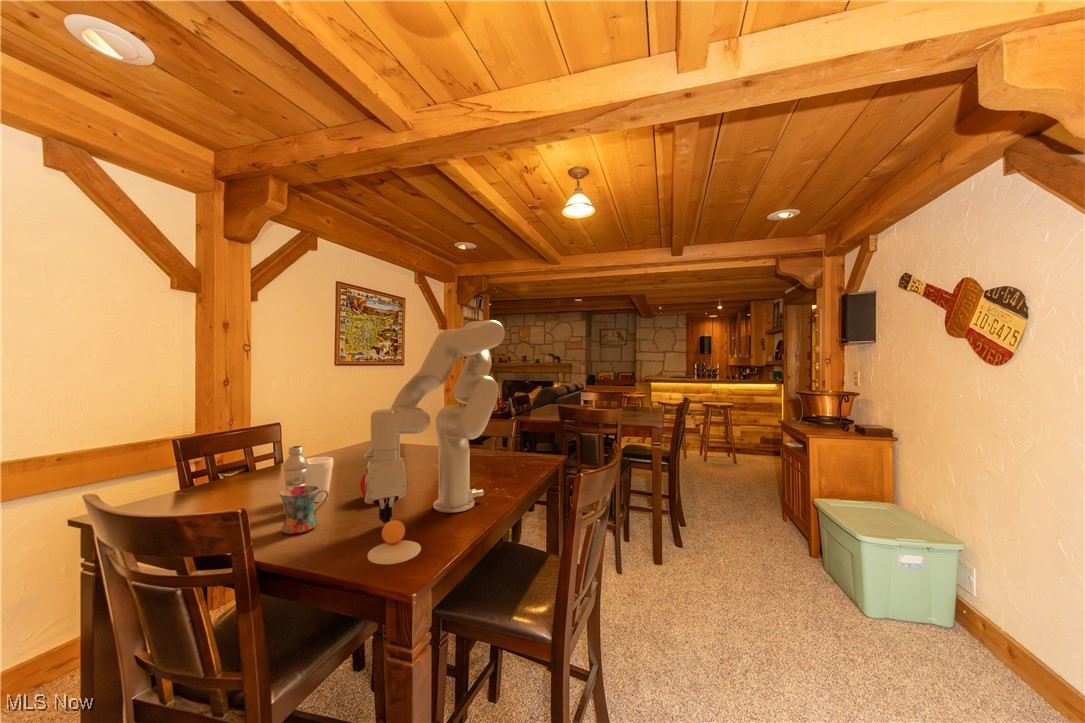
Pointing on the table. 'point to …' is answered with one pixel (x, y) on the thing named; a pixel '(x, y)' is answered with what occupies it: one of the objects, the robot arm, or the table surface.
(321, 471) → the foam cup
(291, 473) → the plastic bottle
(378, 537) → the table surface
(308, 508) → the mug
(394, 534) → the ball
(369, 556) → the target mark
